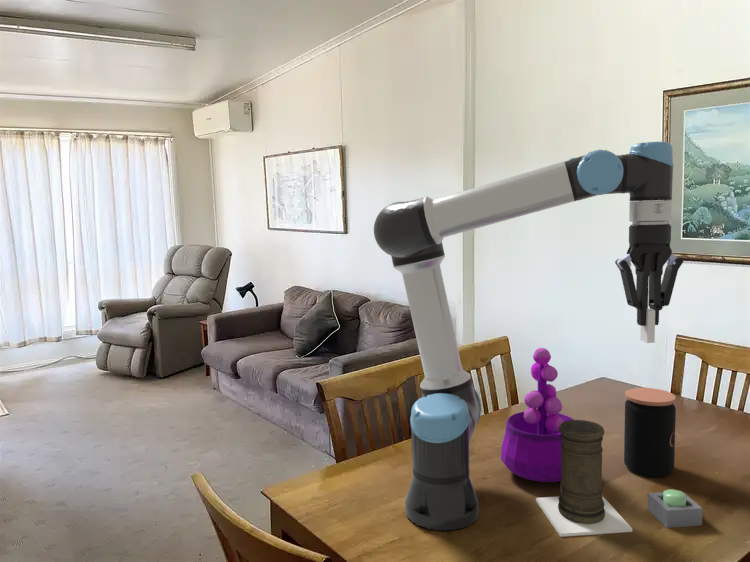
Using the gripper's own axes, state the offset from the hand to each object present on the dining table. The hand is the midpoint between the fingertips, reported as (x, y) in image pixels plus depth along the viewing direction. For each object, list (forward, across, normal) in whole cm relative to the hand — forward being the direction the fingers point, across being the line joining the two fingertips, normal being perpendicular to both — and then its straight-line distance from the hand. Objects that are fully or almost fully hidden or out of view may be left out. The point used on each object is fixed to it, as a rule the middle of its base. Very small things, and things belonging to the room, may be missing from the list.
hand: (647, 341), depth 119 cm
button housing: (+34, +3, -6) cm, 35 cm away
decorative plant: (+35, -16, +16) cm, 41 cm away
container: (+34, -15, -3) cm, 37 cm away
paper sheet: (+34, -14, -3) cm, 37 cm away
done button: (+35, +3, -6) cm, 36 cm away
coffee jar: (+35, +9, +15) cm, 39 cm away
